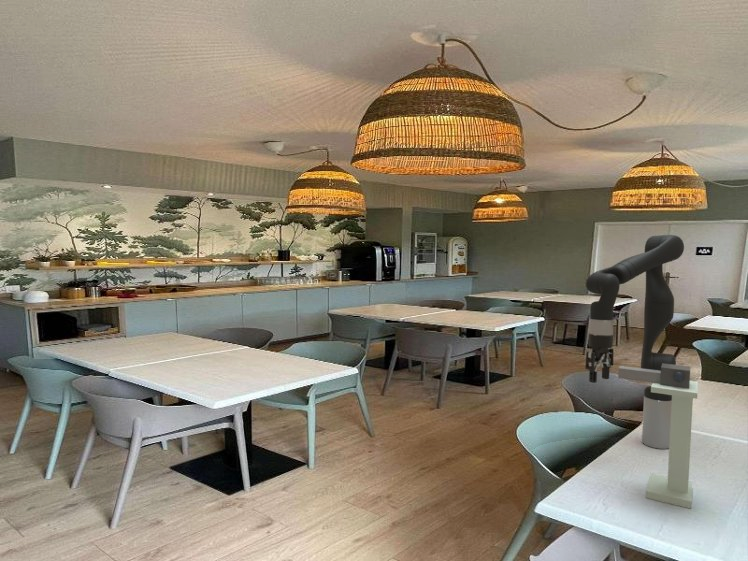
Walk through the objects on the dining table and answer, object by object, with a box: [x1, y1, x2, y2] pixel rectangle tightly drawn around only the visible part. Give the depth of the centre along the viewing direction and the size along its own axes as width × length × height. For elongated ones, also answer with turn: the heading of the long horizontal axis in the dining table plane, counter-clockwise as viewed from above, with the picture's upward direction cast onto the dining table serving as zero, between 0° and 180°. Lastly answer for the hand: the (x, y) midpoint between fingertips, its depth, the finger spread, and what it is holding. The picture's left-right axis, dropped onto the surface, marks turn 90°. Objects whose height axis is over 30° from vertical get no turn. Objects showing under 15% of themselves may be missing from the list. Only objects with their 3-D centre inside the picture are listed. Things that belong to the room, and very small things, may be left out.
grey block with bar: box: [617, 363, 691, 389], centre depth 149 cm, size 7×18×5 cm, turn 57°
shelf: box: [645, 380, 699, 509], centre depth 147 cm, size 14×11×32 cm
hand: (599, 380), depth 173 cm, fingers open, 8 cm apart
